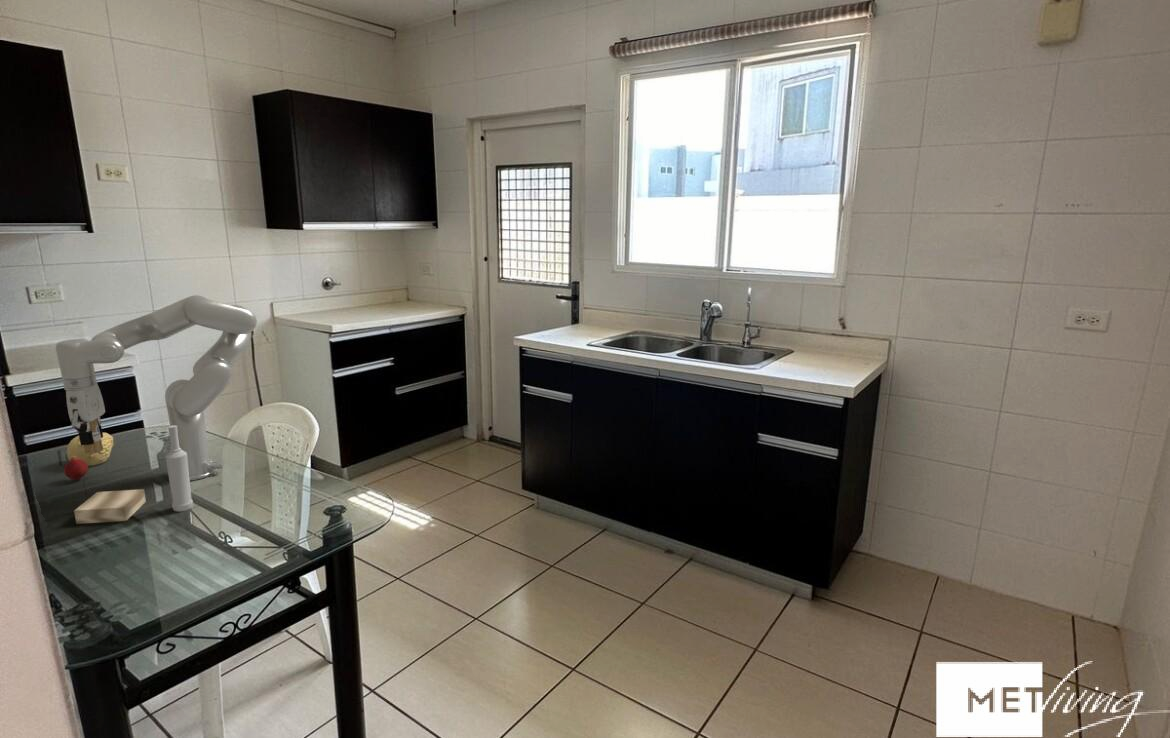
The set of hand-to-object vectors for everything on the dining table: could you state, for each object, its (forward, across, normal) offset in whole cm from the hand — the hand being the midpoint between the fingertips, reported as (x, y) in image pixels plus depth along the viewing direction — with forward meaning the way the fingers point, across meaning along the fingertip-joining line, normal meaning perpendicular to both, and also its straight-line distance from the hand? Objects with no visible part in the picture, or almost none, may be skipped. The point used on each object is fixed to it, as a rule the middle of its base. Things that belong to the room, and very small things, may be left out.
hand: (92, 440), depth 184 cm
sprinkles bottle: (+4, 0, 0) cm, 4 cm away
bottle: (+18, -15, -27) cm, 35 cm away
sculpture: (+17, +26, +15) cm, 35 cm away
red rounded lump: (+17, +11, +12) cm, 24 cm away
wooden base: (+17, -15, -9) cm, 24 cm away
